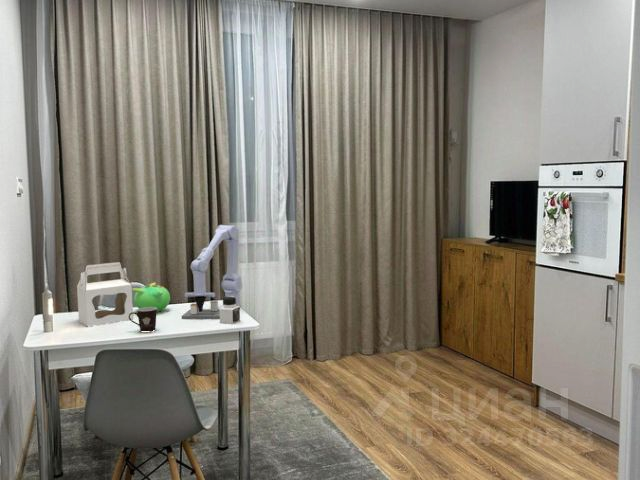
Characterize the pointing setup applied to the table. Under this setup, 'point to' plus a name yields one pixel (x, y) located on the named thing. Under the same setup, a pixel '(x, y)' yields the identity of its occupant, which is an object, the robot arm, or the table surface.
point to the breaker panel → (202, 314)
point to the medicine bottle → (229, 311)
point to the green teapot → (152, 297)
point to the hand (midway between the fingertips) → (200, 311)
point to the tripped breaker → (194, 309)
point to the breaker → (214, 305)
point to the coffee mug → (146, 318)
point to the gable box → (104, 288)
